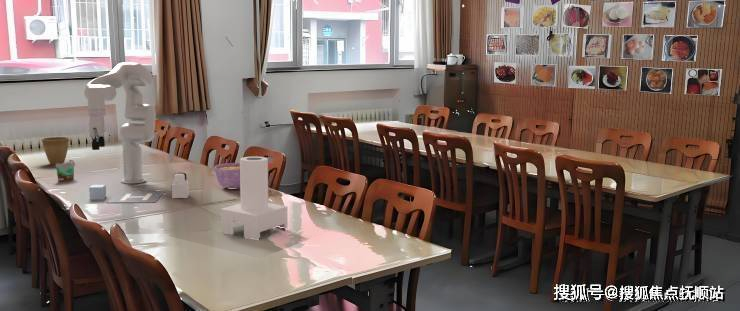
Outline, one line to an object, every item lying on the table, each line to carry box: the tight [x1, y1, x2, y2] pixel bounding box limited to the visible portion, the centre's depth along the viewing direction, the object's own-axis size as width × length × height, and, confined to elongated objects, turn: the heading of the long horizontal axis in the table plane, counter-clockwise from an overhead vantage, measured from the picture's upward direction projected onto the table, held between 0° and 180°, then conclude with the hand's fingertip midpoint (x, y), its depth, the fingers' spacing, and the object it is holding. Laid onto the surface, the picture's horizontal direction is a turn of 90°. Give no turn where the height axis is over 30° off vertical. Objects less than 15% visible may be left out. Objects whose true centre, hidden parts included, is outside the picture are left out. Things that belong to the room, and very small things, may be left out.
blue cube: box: [88, 184, 107, 200], centre depth 318 cm, size 6×6×6 cm
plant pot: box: [41, 136, 70, 166], centre depth 400 cm, size 15×15×16 cm
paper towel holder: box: [220, 156, 288, 239], centre depth 265 cm, size 19×19×30 cm
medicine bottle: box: [171, 172, 190, 200], centre depth 322 cm, size 7×7×12 cm
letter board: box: [106, 191, 164, 204], centre depth 320 cm, size 22×22×1 cm
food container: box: [55, 159, 76, 183], centre depth 356 cm, size 12×6×10 cm, turn 168°
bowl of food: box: [213, 162, 240, 189], centre depth 345 cm, size 20×20×12 cm
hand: (98, 148), depth 314 cm, fingers open, 9 cm apart
